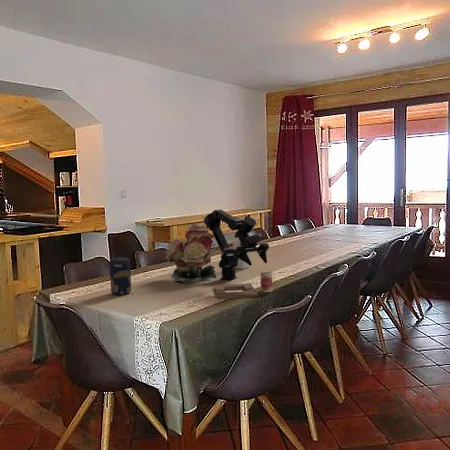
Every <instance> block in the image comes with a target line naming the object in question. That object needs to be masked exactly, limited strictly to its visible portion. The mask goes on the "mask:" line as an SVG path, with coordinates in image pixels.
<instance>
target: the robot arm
mask: <svg viewBox="0 0 450 450" xmlns="http://www.w3.org/2000/svg"><path fill="white" fill-rule="evenodd" d="M221 222H223V223H225V224H227V226H228V228H229V229H230V231H236V232H235V234H234V238H235V239H236V238H238V239H239V240H240V242H241V244H240V247H237V248H236V249H233V248H231V247H230V245H229V243H228V241H227V239H226V237H225V235H224V233H223V231H222V229H221ZM203 224H204V225H205V228H206V229H207V228H208V227H210V228H209V229H208V231H209V230H210V231H211V234H213V235H214V237H213V238H214V239H215V242H216V244H217V245H218V248H219V250H220V252H221V253H220V261H219V262H218V267H219V268H220V269H221V277H220V280H228V281H231V280H233V279H237V276H236V268H235V267H237V264H238V259H240V260H242V261H244V262H245V263H247V264H248V265H250V267H252V266H253V265H252V264H253V263H252V261H251V258H250V259H249V257H248V255H247V252H248V253H249V252H250V253H255V252H257V254H258V256H259V258H261V260H262V261H263V262H264V264H267V263H268V259H267V258H268V257H267V251H268V250H269V249H270V245H269V244H268V243H266V242H265V243H260V244H258V243H259V242H262V240H264V237H263V235H262V233H257V234H253V235H250V233H251V232H252V231H253V230H254V228H255V227H256V225H257V221H256V220H255V219H254V218H253V217H250V215H245V216H244V218H241V217H235V216H232V215H231V214H229V213H227V212H226V211H224V210H223V209H215V210H213V211H212V212H210V213H208V214H207V215H206V216H205V217H204V218H203ZM258 245H259V246H258Z"/></svg>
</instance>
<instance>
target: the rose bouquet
mask: <svg viewBox="0 0 450 450" xmlns="http://www.w3.org/2000/svg"><path fill="white" fill-rule="evenodd" d="M187 228H188V230H185V234H184V237H185V238H186V242H184V241H182V240H180V238H178V237H176V238H174V239H172V240H171V241H170V242H168V245H167V246H165V249H166V250H164V255H166V257H165V258H166V261H168V263H169V264H170V263H172V265H173V264H174V265H175V267H176V268H175V269H174V270H173V272H172V274H171V278H172V279H173V281H175V282H177V281H178V282H183V283H184V284H185V285H188V284H190V285H191V284H196V283H200V282H211V281H212V280H216V279H217V278H218V277H217V274H216V270H214V269H215V266H213V265H212V264H210V263H211V262H212V255H213V252H214V249H213V247H215V246H216V245H217V243H216V244H215V243H214V240H213V238H215V237H214V235H213V233H210V232H209V228H210V227H208V228H207V227H206V225H205V226H204V225H203V224H200V223H192V222H191V224H188V225H187ZM206 265H207V266H206ZM204 266H205V267H204ZM183 283H182V284H183Z"/></svg>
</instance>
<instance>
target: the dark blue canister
mask: <svg viewBox="0 0 450 450" xmlns="http://www.w3.org/2000/svg"><path fill="white" fill-rule="evenodd" d="M130 261H131V260H130V258H128V257H122V256H118V257H113V258H110V259H109V263H108V264H109V278H110V279H109V280H110V292H111V294H112V295H118V296H122V295H127V294H129V293H131V292H132V275H131V262H130Z"/></svg>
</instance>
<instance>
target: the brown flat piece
mask: <svg viewBox="0 0 450 450" xmlns="http://www.w3.org/2000/svg"><path fill="white" fill-rule="evenodd" d="M213 288H214V291H215V294H216V297H217V300H223V299H242V298H243V299H244V298H258V297H259V296H258V292H257V290H256V289H255V287H254V286H253V285H252V283H249V282H248V283H232V284H231V283H229V284H214V287H213ZM233 290H234V291H233ZM235 290H243V291H235ZM227 291H230V292H227Z"/></svg>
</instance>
